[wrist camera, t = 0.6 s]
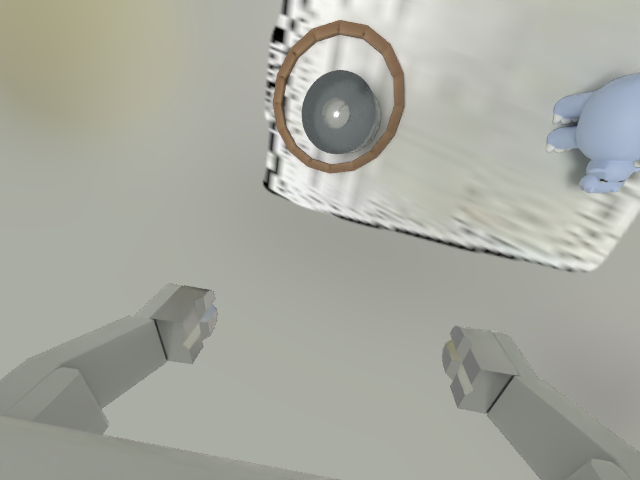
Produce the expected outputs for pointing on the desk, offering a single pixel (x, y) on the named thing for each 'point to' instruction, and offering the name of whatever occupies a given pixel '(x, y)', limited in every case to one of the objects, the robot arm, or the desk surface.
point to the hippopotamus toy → (602, 132)
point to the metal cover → (340, 113)
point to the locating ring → (302, 47)
